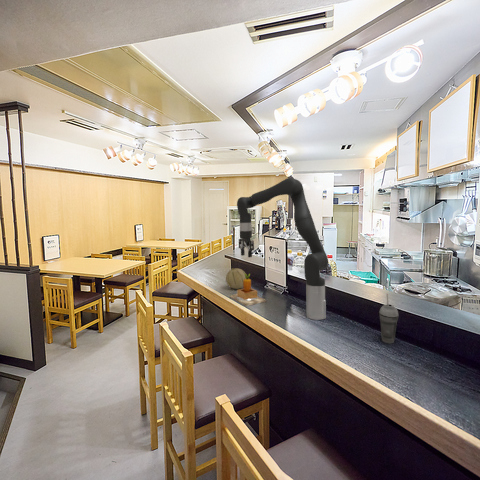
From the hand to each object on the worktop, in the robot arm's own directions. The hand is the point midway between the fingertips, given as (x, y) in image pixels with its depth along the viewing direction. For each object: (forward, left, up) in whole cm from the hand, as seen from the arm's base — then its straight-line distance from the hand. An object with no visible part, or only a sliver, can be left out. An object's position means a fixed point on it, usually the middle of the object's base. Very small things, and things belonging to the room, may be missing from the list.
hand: (246, 256), depth 172 cm
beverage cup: (-64, +51, -28) cm, 86 cm away
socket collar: (0, 0, -26) cm, 26 cm away
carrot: (0, 0, -26) cm, 26 cm away
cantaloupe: (+10, -24, -28) cm, 38 cm away
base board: (0, 0, -27) cm, 27 cm away
